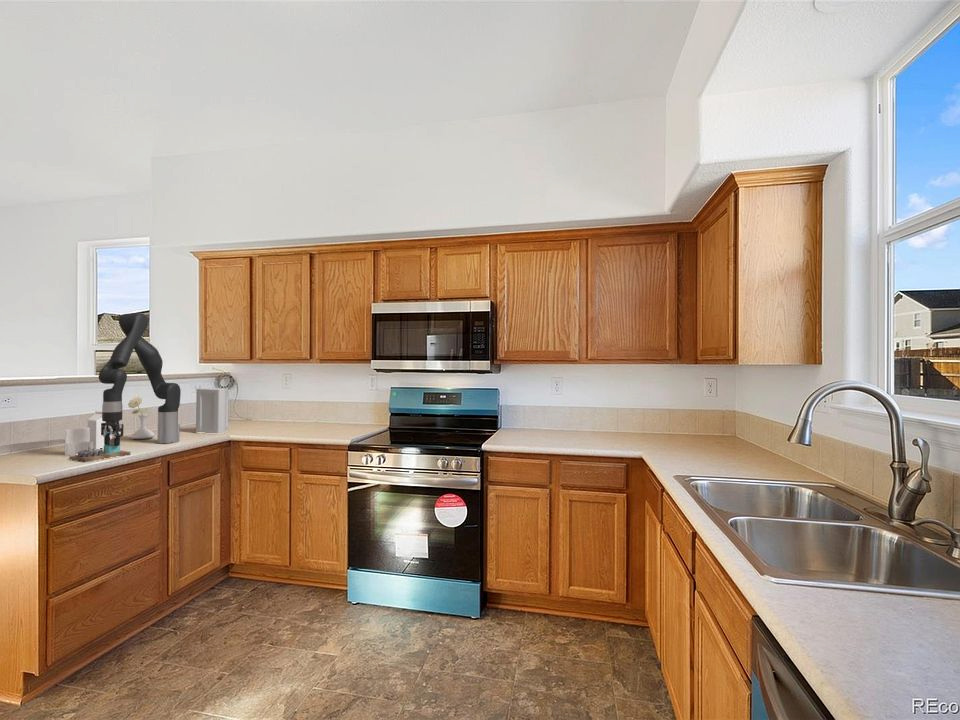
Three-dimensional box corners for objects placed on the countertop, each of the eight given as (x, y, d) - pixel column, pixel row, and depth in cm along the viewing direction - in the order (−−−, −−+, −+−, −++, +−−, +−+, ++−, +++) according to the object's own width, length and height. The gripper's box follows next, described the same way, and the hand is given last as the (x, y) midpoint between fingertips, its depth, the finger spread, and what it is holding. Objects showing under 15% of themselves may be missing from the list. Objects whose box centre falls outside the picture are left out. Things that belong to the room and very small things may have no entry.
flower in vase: (149, 436, 270) (149, 395, 271) (158, 438, 265) (159, 395, 265) (123, 439, 259) (124, 396, 259) (133, 441, 253) (133, 397, 254)
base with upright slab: (87, 451, 225) (87, 427, 225) (91, 453, 219) (91, 428, 219) (63, 453, 218) (63, 429, 218) (66, 456, 212) (66, 430, 212)
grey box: (238, 431, 293) (238, 388, 293) (218, 434, 279) (219, 389, 279) (215, 430, 299) (216, 387, 299) (195, 433, 284) (195, 389, 285)
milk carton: (95, 450, 227) (96, 412, 227) (86, 449, 230) (87, 412, 230) (111, 447, 234) (112, 411, 234) (102, 446, 236) (103, 410, 237)
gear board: (114, 452, 221) (114, 436, 221) (130, 454, 216) (130, 438, 216) (69, 459, 205) (69, 442, 205) (85, 462, 199) (85, 444, 199)
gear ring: (115, 450, 218) (115, 443, 218) (122, 451, 216) (122, 444, 216) (100, 452, 213) (100, 445, 213) (108, 453, 210) (108, 446, 210)
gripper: (130, 410, 215) (129, 445, 215) (112, 409, 221) (112, 442, 221) (112, 412, 208) (111, 447, 208) (94, 410, 214) (94, 445, 214)
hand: (111, 445), depth 214 cm, fingers open, 7 cm apart
